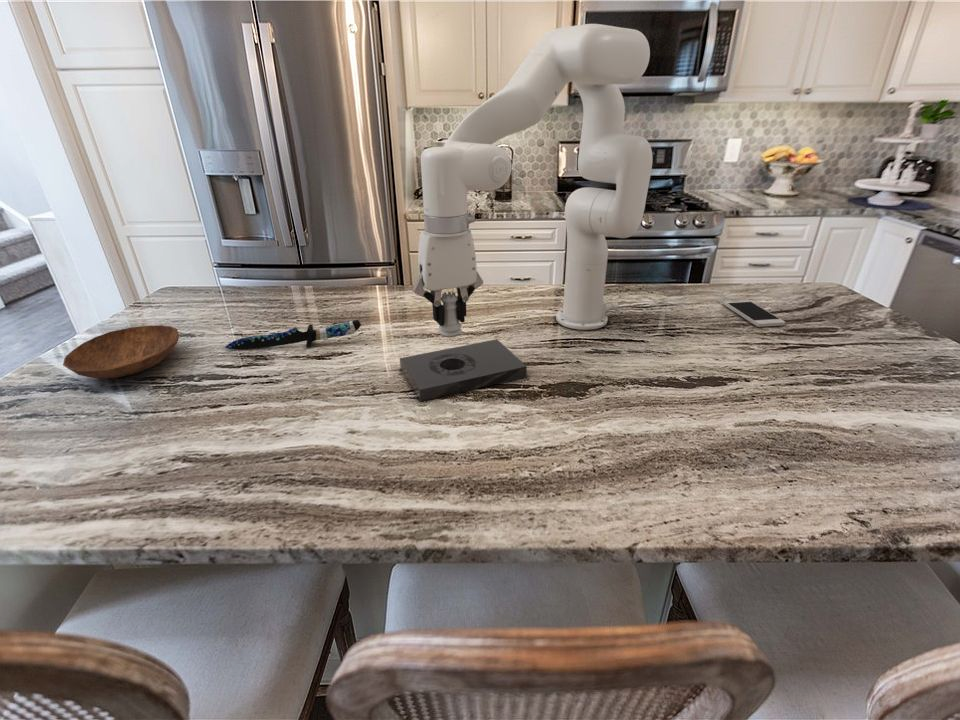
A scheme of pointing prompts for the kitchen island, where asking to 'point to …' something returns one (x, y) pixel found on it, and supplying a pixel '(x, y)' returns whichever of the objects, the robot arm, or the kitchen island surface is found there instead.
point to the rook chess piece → (450, 316)
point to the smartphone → (754, 313)
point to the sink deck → (461, 369)
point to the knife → (295, 336)
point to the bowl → (122, 351)
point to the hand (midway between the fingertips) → (450, 320)
